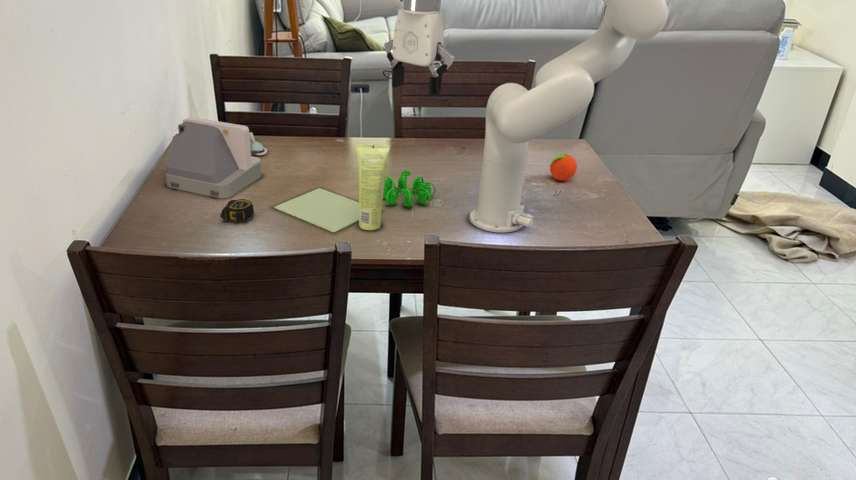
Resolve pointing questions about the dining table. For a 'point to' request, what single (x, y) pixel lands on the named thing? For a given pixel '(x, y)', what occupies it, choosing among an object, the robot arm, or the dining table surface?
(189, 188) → the instant camera
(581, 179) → the dining table surface
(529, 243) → the dining table surface
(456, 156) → the dining table surface
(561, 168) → the clementine
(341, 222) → the mat
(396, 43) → the robot arm
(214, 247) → the dining table surface
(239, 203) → the tape measure
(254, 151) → the pacifier
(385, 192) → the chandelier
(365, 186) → the tube
